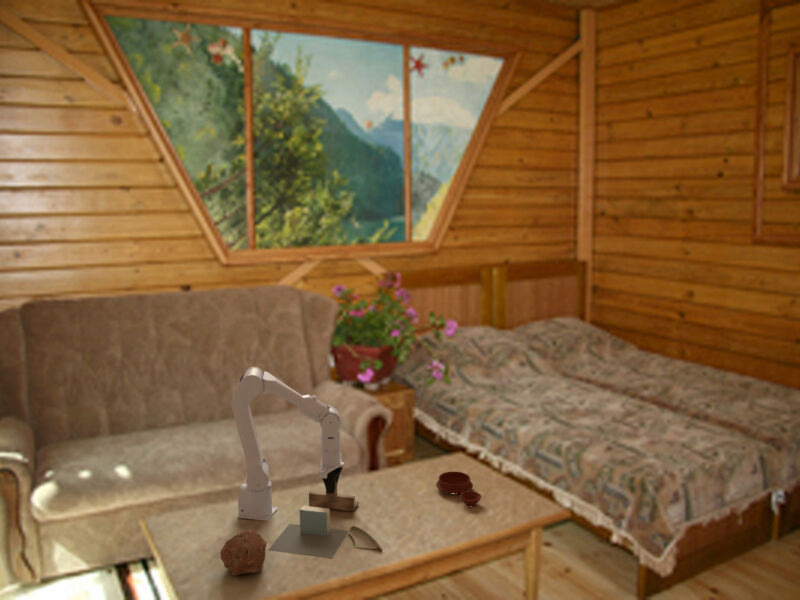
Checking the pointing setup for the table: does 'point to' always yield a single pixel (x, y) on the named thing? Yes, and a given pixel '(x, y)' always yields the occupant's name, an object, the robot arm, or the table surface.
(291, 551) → the charcoal mat
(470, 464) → the table surface
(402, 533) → the table surface
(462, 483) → the pottery
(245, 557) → the decorative rock
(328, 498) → the walnut scraper
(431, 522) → the table surface
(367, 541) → the ceramic fragment
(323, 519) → the light tan wooden block
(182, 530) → the table surface
